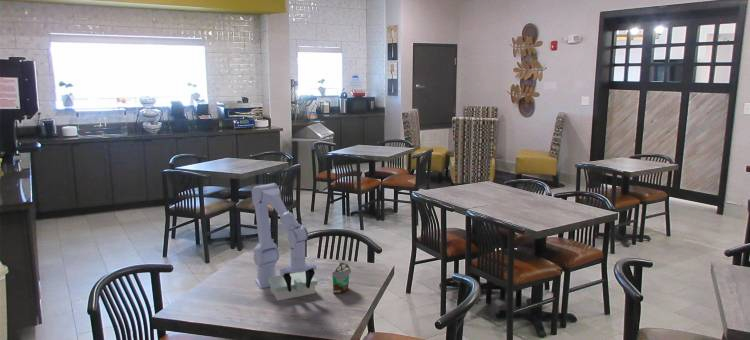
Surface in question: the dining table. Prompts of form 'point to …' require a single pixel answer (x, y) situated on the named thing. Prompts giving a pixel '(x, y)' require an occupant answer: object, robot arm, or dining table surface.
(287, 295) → the tub
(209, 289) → the dining table surface
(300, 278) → the lid
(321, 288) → the dining table surface
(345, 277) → the food container
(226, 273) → the dining table surface
